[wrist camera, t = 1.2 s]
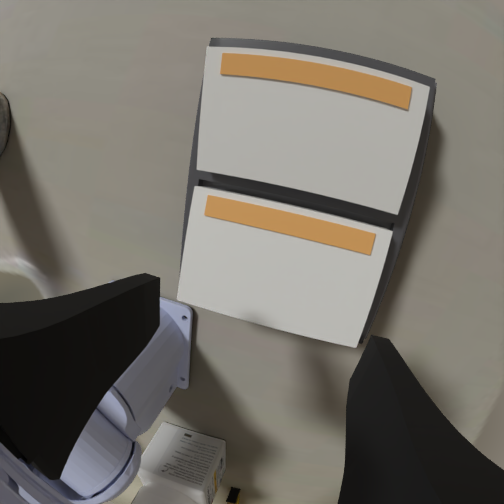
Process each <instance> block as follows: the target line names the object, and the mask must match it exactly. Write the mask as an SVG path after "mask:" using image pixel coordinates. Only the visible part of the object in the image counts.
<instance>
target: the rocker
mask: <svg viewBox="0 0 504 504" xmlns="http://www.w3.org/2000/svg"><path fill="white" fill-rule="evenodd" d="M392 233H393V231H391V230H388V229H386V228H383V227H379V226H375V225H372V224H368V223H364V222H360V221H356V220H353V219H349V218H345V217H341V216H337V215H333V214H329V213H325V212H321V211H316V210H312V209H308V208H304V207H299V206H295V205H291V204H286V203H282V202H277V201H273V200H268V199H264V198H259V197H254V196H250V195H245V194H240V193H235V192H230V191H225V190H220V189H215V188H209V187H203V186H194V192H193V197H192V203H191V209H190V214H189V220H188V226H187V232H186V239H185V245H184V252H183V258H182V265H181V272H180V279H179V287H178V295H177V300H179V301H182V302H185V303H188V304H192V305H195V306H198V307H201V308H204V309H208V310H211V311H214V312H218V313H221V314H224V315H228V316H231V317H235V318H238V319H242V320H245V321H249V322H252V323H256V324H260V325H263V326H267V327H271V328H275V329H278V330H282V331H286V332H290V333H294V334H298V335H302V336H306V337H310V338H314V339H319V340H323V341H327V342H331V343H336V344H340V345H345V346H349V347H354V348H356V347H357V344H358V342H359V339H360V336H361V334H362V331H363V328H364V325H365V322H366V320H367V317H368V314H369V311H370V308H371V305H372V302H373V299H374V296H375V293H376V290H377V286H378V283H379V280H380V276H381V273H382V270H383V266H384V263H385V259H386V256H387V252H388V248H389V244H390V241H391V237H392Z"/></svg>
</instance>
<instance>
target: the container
mask: <svg viewBox="0 0 504 504" xmlns="http://www.w3.org/2000/svg"><path fill="white" fill-rule="evenodd" d="M225 469H226V442H225V441H224V440H222V439H218V438H214V437H211V436H207V435H204V434H201V433H197V432H194V431H191V430H188V429H185V428H182V427H179V426H176V425H173V424H170V423H167V422H163V423H162V424H161V426H160V427H159V429H158V431H157V432H156V434H155V435H154V437H153V439H152V440H151V442H150V443H149V445H148V447H147V448H146V450H145V451H144V453H143V454H142V456H141V464H140V468H139V471H138V473H137V474H138V476H139V478H140V480H141V481H142V483H143V485H144V486H142V487H141V488H140V490H139V491H138V493H137V495H136V496H135V498H134V500H133V501H132V503H131V504H212V502H213V499H214V497H215V494H216V492H217V490H218V487H219V485H220V482H221V480H222V477H223V475H224V472H225Z"/></svg>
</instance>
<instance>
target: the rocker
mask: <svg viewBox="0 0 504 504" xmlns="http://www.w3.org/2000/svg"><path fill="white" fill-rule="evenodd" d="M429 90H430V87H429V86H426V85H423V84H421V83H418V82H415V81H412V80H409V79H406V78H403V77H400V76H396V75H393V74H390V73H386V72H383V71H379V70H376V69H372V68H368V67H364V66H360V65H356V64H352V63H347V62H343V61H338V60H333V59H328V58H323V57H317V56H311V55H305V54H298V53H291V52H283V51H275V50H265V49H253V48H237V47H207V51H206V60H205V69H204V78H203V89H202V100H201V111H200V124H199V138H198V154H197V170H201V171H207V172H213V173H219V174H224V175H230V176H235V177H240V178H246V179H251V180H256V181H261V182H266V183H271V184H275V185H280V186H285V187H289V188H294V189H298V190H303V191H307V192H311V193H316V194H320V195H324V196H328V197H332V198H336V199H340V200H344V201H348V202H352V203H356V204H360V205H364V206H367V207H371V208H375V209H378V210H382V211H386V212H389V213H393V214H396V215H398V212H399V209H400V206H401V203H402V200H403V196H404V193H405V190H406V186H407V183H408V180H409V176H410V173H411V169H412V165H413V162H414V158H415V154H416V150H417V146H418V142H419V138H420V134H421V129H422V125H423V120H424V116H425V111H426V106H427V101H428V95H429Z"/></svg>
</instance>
